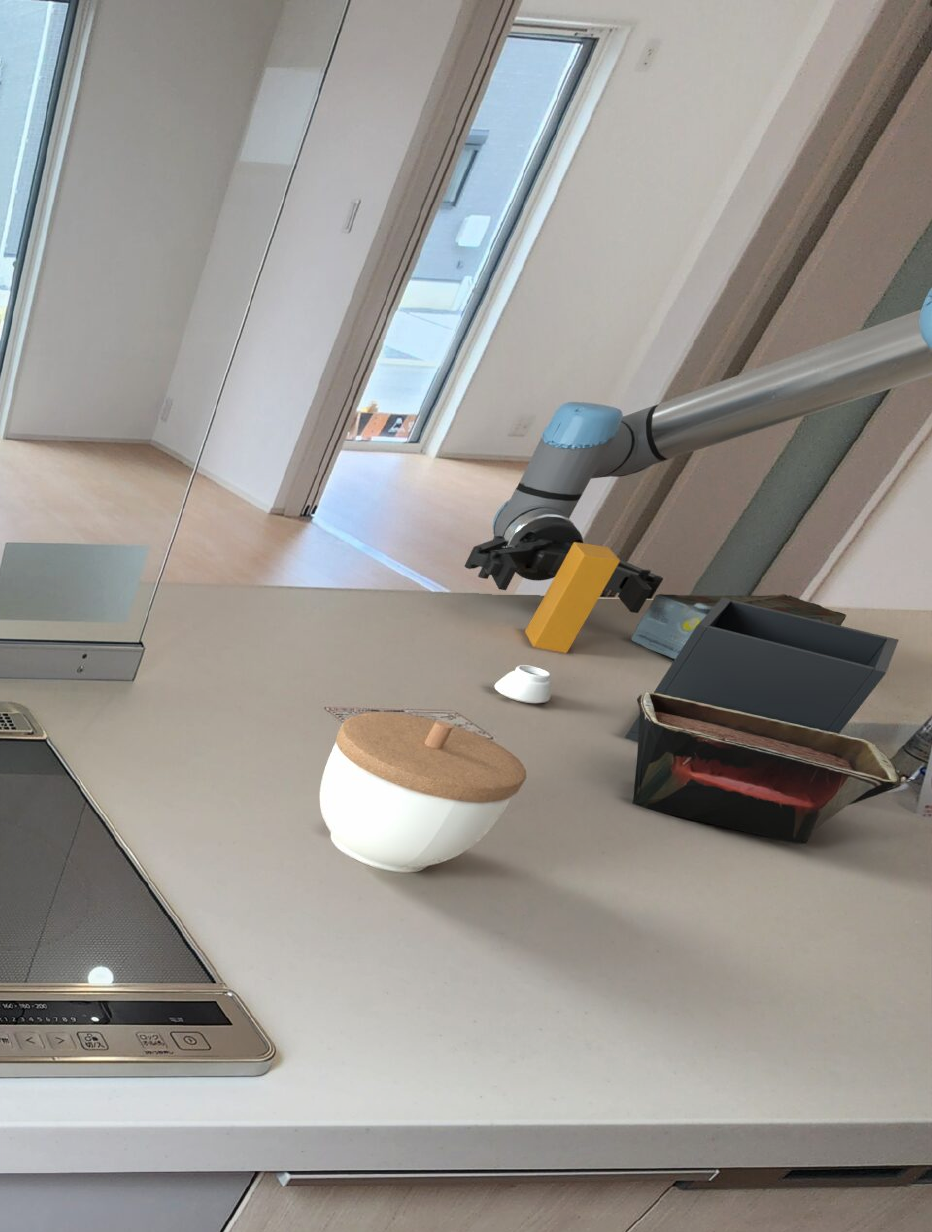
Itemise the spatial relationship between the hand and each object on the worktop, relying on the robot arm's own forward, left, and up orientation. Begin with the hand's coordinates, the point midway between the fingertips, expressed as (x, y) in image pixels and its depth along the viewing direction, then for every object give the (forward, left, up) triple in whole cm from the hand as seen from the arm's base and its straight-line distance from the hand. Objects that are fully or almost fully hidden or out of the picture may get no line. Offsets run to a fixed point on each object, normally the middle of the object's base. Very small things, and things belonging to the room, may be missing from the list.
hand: (573, 589), depth 126 cm
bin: (-20, +19, -6) cm, 29 cm away
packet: (0, 0, -6) cm, 6 cm away
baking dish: (-22, +36, -7) cm, 43 cm away
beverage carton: (-15, -16, -7) cm, 23 cm away
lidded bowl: (-5, +71, -7) cm, 72 cm away
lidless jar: (-3, +23, -7) cm, 24 cm away
